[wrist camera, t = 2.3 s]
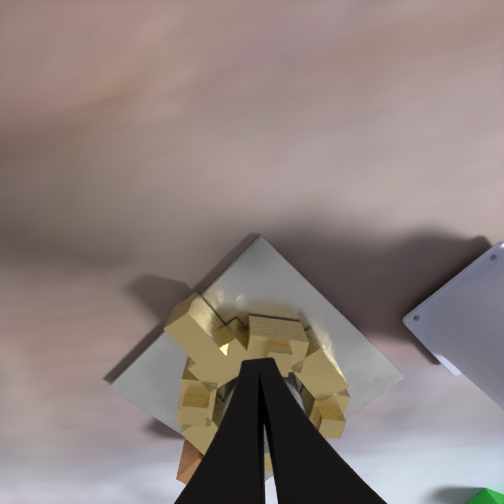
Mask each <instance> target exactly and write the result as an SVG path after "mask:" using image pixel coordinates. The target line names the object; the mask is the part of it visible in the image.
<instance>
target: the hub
mask: <svg viewBox="0 0 504 504" xmlns="http://www.w3.org/2000/svg"><path fill="white" fill-rule="evenodd" d="M199 296H200V297H201V298H202V299H203V300H204V301H205V302H206V304H207V305H208V306H209V307H210V308H211V309H212V311H213V312H214V313H215V314H216V315H217V316H218V318H219V319H220V320H221V321H222V322H223V323H224V325H225V326H226V325H227V324H229V323H230V322H232V321H233V320H235V319H236V318H237V320H238V321H239V322H240V323H241V324H242V326H243V327H244V328H245V329H247V324H248V318H249V316H257V317H264V318H272V319H280V320H287V321H295V322H301V324H302V326H303V328H304V331H307V330H309V329H310V328H311V329H312V330H313V331H314V333H315V334H316V335H317V337H318V338H319V339H320V341H321V342H322V343H323V345H324V346H325V348H326V349H327V350H328V352H329V353H330V354H331V356H332V357H333V358H334V360H335V361H336V362H337V364H338V366H339V368H340V370H341V372H342V374H343V376H344V378H345V380H346V382H347V384H348V385H349V387H347V388H346V389H347V391H348V393H349V395H350V400H349V402H348V405H347V408H346V411H345V414H344V418H345V420H346V421H347V420H348V419H349V418H351V417H352V416H353V415H355V414H356V413H357V412H359V411H360V410H361V409H363V408H364V407H365V406H367V405H368V404H369V403H371V402H372V401H373V400H375V399H376V398H377V397H379V396H380V395H381V394H383V393H384V392H386V391H387V390H388V389H390V388H391V387H392V386H394V385H395V384H396V383H398V382H399V381H400V380H402V379H403V378H404V377H405V376H404V374H403V373H402V372H401V371H400V370H399V369H398V368H397V367H396V366H395V365H394V364H393V363H392V362H391V361H390V360H389V359H388V358H387V357H386V356H385V355H384V354H383V353H382V352H381V351H380V350H379V349H378V348H377V347H376V346H375V345H374V344H373V343H372V342H371V341H370V340H369V339H368V338H367V337H365V336H364V335H363V334H362V333H361V332H360V331H359V330H358V329H357V328H356V327H355V326H354V325H353V324H352V323H351V322H350V321H349V320H348V319H347V318H346V317H345V316H344V315H343V314H342V313H341V312H340V311H339V310H338V309H337V308H336V307H335V306H334V305H333V304H332V303H331V302H330V301H329V300H328V299H327V298H326V297H324V296H323V295H322V294H321V293H320V292H319V291H318V290H317V289H316V288H315V287H314V286H313V285H312V284H311V283H310V282H309V281H308V280H307V279H306V278H305V277H304V276H303V275H302V274H301V273H300V272H299V271H298V270H297V269H296V268H295V267H294V266H293V265H292V264H291V263H290V262H289V261H288V260H287V259H286V258H284V257H283V256H282V255H281V254H280V253H279V252H278V251H277V250H276V249H275V248H274V247H273V246H272V245H271V244H270V243H269V242H268V241H267V240H266V239H265V238H264V237H263V236H262V235H260V236H259V237H258V238H257V239H256V240H255V241H254V242H253V243H252V244H251V245H250V246H249V247H248V248H247V249H246V250H244V251H243V252H242V253H241V254H240V255H239V256H238V257H237V258H236V259H235V260H234V261H233V262H232V263H231V264H230V265H229V266H228V267H227V268H226V269H225V270H224V271H223V272H222V273H221V274H220V275H219V276H218V277H217V278H216V279H215V280H214V281H213V282H212V283H211V284H210V285H209V286H208V287H207V288H206V289H205V290H204V291H203V292H202V293H201V294H200V295H199ZM187 358H188V355H187V353H186V352H185V351H184V350H183V349H182V348H181V347H180V346H179V345H178V344H177V343H176V342H175V341H174V340H173V339H172V338H171V337H170V336H169V335H168V334H167V333H166V332H165V330H163V331H162V332H161V333H160V334H159V335H158V336H157V337H156V338H155V339H154V340H153V341H152V342H151V343H150V344H149V345H148V346H147V347H146V348H145V349H144V350H143V351H142V352H141V353H140V354H139V355H138V356H137V357H136V358H135V359H134V360H133V361H132V362H131V363H130V364H129V365H128V366H127V367H126V368H125V369H124V370H123V371H122V372H121V373H120V374H119V375H118V376H117V377H116V378H115V379H114V380H113V381H112V383H111V384H110V386H109V388H110V389H111V390H113V391H114V392H116V393H118V394H119V395H121V396H122V397H124V398H125V399H127V400H128V401H130V402H132V403H133V404H135V405H136V406H138V407H139V408H141V409H142V410H144V411H146V412H147V413H149V414H150V415H152V416H153V417H155V418H156V419H158V420H159V421H161V422H163V423H164V424H166V425H167V426H169V427H170V428H172V429H173V430H175V431H177V432H178V433H180V431H181V427H182V424H176V420H177V411H178V402H179V394H180V385H181V378H182V375H183V371H184V368H185V365H186V361H187ZM237 379H238V376H237V377H235V378H234V379H232V380H230V381H229V382H227V383H226V384H224V385H222V386H221V387H219V388H217V391H216V396H217V397H218V398H219V399H220V400H221V401H222V402H223V403H224V406H223V416H224V414H225V412H226V409H227V407H228V405H229V402H230V399H231V397H232V394H233V391H234V388H235V385H236V382H237ZM283 379H284V381H285V382H286V384H287V386H288V388H289V389H290V391H291V392H292V394H293V396H294V397H295V399H296V400H297V402H298V403H299V405H300V406H301V408H302V409H303V411H304V412H305V409H304V406H303V402H302V399H301V393H302V390H303V386H304V384H303V383H302V382H301V381H300V379H299V378H298V377H297V376H296V375H295V373H294V372H289V373H288V377H283ZM305 414H306V413H305ZM181 435H182V434H181ZM264 453H269V448H268V442H267V437H266V431H265V425H264ZM203 456H204V454H202V453H201V452H200V451H199V450H198V449H197V448H196V447H195V446H194V445H193V444H191V443H190V442H189V441H188V440H187V439H186V440H185V441H184V445H183V450H182V455H181V459H180V464H179V469H178V473H177V478H176V479H177V480H179V481H181V482H183V483H184V484H186V485H187V483H188V482H189V480H190V478H191V477H192V475H193V474H194V472H195V470H196V468H197V467H198V465H199V463H200V462H201V460H202V458H203ZM271 476H273V471H265V481H266V480H267V479H269V478H270V477H271Z"/></svg>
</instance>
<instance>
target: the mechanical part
mask: <svg viewBox="0 0 504 504" xmlns="http://www.w3.org/2000/svg"><path fill="white" fill-rule="evenodd" d="M468 504H504V495H503V494H500V493H498V492H495V491H492V490H490V489H487V488H484V489H483V490H482V491H481V492H480V493H479V494H478V495H477V496H476V497H475V498H473V499H472V500H471V501H470V502H469V503H468Z"/></svg>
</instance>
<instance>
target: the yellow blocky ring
mask: <svg viewBox="0 0 504 504" xmlns="http://www.w3.org/2000/svg"><path fill="white" fill-rule="evenodd" d="M164 330H165V332H166V333H167V334H168V335H169V336H170V337H171V338H172V339H173V340H174V341H175V342H176V343H177V344H178V345H179V346H180V347H181V348H182V349H183V350H184V351H185V352H186V353H187V355H188V358H187V361H186V365H185V368H184V371H183V375H182V378H181V385H180V394H179V402H178V411H177V420H176V424H182V427H181V431H180V434H182V435H183V436H184V437H185V438H186V439H187V440H188V441H189V442H190V443H191V444H193V445H194V446H195V447H196V448H197V449H198V450H199V451H200V452H201V453H202V454H204V455H205V453H206V451H207V449H208V447H209V445H210V443H211V442H212V440H213V438H214V436H215V434H216V432H217V430H218V427H219V425H220V423H221V421H222V419H223V406H224V403H223V402H222V401H221V400H220V399H219V398H218V397H217V396H216V391H217V388H219V387H221V386H222V385H224V384H226V383H227V382H229V381H230V380H232V379H234V378H235V377H237V376H238V375H239V371H240V367H241V362H242V361H243V360H249V359H259V358H268V357H273V358H274V359H275V362H276V364H277V367H278V369H279V371H280V373H281V375H282V377H288V373H289V372H294V373H295V375H296V376H297V377H298V378H299V379H300V381H301V382H302V383H303V384H304V386H303V390H302V393H301V399H302V402H303V406H304V409H305V413H306V415H307V416H308V418H309V419H310V420H311V422H312V423H313V424H314V426H315V427H316V428H317V430H318V431H319V432H320V433H321V435H322V436H323V437H324V438H325V439H326V437H333V438H341V435H342V432H343V429H344V426H345V424H346V420H345V418H344V414H345V411H346V408H347V405H348V402H349V400H350V395H349V393H348V391H347V389H346V388H347V387H349V385H348V384H347V382H346V380H345V378H344V376H343V374H342V372H341V370H340V368H339V366H338V364H337V362H336V361H335V360H334V358H333V357H332V356H331V354H330V353H329V352H328V350H327V349H326V348H325V346H324V345H323V343H322V342H321V341H320V339H319V338H318V337H317V335H316V334H315V333H314V331H313V330H312V329H311V328H310V329H309V330H307V331H304V328H303V326H302V324H301V322H295V321H287V320H280V319H272V318H264V317H257V316H249V318H248V324H247V329H245V328H244V327H243V326H242V324H241V323H240V322H239V321H238V320H237V318H236V319H235V320H233V321H232V322H230V323H229V324H227V325H226V326H225V325H224V323H223V322H222V321H221V320H220V319H219V318H218V316H217V315H216V314H215V313H214V312H213V311H212V309H211V308H210V307H209V306H208V305H207V304H206V302H205V301H204V300H203V299H202V298H201V297H200V296H199V294H198V293H197V292H195V293H193V294H192V295H190V296H189V297H187V298H186V299H185V300H183V301H182V302H180V303H179V304H177V305H176V306H175V307H174V309H173V311H172V313H171V315H170V317H169V319H168V321H167V323H166V325H165V327H164ZM326 441H327V440H326ZM264 456H265V471H273V470H272V464H271V459H270V453H264Z"/></svg>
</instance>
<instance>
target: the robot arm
mask: <svg viewBox="0 0 504 504" xmlns="http://www.w3.org/2000/svg"><path fill="white" fill-rule="evenodd" d="M490 257H491V258H490ZM414 316H416V317H415V318H414ZM403 323H404V325H405V326H406V327H407V328H408V329H409V330H410V331H411V332H412V333H413V334H414V335H415V336H416V337H417V338H418V339H419V341H420V342H421V343H422V344H423V345H424V346H425V347H426V348H427V349H428V350H429V351H430V352H431V353H432V354H433V355H434V356H435V357H436V358H437V360H438V361H439V362H440V363H441V364H442V365H443V366H444V367H445V368H446V369H447V370H448V371H449V372H450V373H451V374H452V375H459V374H461V373H463V374H464V375H465V376H466V377H467V378H468V379H470V380H471V381H472V382H473V383H474V384H475V385H476V386H478V387H479V388H480V389H481V390H482V391H483V392H484V393H486V394H487V395H488V396H489V397H490V398H491V399H492V400H493V401H495V402H496V403H497V404H498V405H499V406H500V407H501V408H503V409H504V241H500V242H498V243H496V244H495V245H494V246H493V247H491V248H490V249H489V250H488V251H486V252H485V253H484V254H483V255H481V256H480V257H479V258H478V259H476V260H475V261H474V262H473V263H471V264H470V265H469V266H468V267H466V268H465V269H464V270H462V271H461V272H460V273H459V274H457V275H456V276H455V277H454V278H452V279H451V280H450V281H449V282H447V283H446V284H445V285H444V286H442V287H441V288H440V289H439V290H437V291H436V292H435V293H434V294H432V295H431V296H430V297H429V298H427V299H426V300H425V301H424V302H422V303H421V304H420V305H419V306H417V307H416V308H415V309H414V310H412V311H411V312H410V313H408V314H407V315H406V316H405V317H404V318H403ZM264 425H265V431H266V437H267V442H268V448H269V453H270V459H271V464H272V470H273V475H274V481H275V486H276V492H277V499H278V504H387V503H386V502H385V501H384V500H383V499H382V498H381V497H380V496H379V495H378V494H377V493H376V492H375V491H374V490H372V489H371V488H370V487H369V486H368V485H367V484H366V483H365V482H364V481H363V480H362V479H361V478H360V477H359V476H358V475H357V473H356V472H355V471H354V470H353V469H352V468H351V467H350V466H349V465H348V464H347V463H346V462H345V461H344V460H343V459H342V458H341V457H340V456H339V455H338V453H337V452H336V451H335V450H334V449H333V448H332V446H331V445H330V444H329V443H328V442H327V441H326V439H325V438H324V437H323V436H322V435H321V433H320V432H319V431H318V430H317V428H316V427H315V426H314V424H313V423H312V422H311V420H310V419H309V418H308V416H307V415H306V414H305V412H304V411H303V409H302V408H301V406H300V405H299V403H298V402H297V400H296V399H295V397H294V396H293V394H292V392H291V391H290V389H289V388H288V386H287V384H286V382H285V381H284V379H283V377H282V375H281V373H280V371H279V369H278V367H277V364H276V362H275V359H274V358H273V357H268V358H259V359H249V360H243V361H242V362H241V367H240V371H239V375H238V379H237V382H236V385H235V388H234V391H233V394H232V397H231V399H230V402H229V405H228V407H227V409H226V412H225V414H224V416H223V419H222V421H221V423H220V425H219V427H218V430H217V432H216V434H215V436H214V438H213V440H212V442H211V443H210V445H209V447H208V449H207V451H206V453H205V455H204V456H203V458H202V460H201V462H200V463H199V465H198V467H197V468H196V470H195V472H194V474H193V475H192V477H191V478H190V480H189V482H188V483H187V485H186V486H185V488H184V489H183V491H182V492H181V494H180V495H179V497H178V498H177V500H176V501H175V503H174V504H265V456H264Z"/></svg>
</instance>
